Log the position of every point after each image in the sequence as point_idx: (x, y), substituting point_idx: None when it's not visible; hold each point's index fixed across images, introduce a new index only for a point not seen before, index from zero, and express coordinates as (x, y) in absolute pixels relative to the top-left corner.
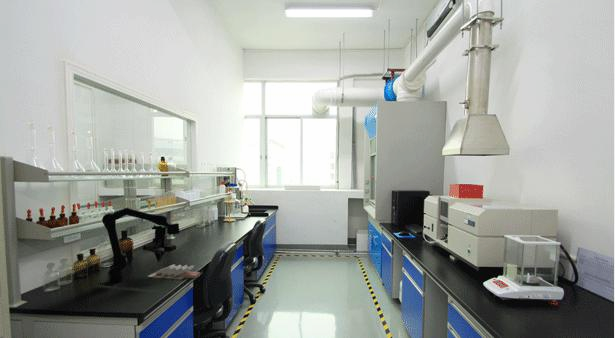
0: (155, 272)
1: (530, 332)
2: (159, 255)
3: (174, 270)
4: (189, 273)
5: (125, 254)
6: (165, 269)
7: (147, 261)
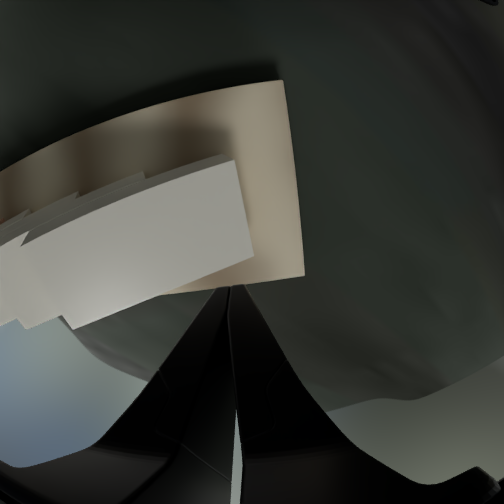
0: (226, 160)
1: None
2: (150, 404)
3: (1, 236)
4: None
5: None
6: (74, 213)
7: (488, 333)
